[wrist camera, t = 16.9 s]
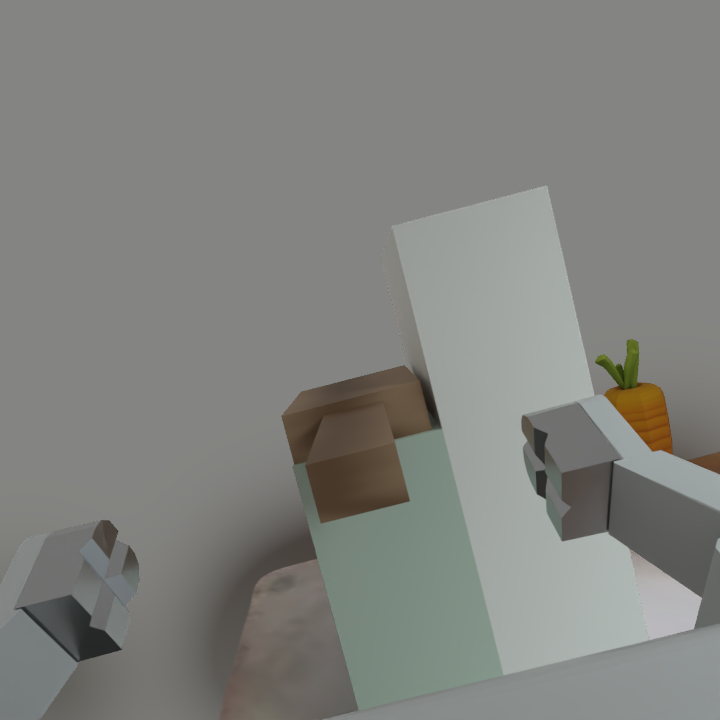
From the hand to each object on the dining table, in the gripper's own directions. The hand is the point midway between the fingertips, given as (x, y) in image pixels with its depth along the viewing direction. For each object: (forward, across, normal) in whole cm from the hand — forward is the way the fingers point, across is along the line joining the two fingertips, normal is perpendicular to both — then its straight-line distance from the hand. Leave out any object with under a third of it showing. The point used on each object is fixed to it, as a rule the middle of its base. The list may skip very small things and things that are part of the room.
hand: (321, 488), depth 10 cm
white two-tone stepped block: (+10, -4, +28) cm, 29 cm away
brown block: (+12, 0, +11) cm, 16 cm away
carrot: (+20, -22, +33) cm, 44 cm away
